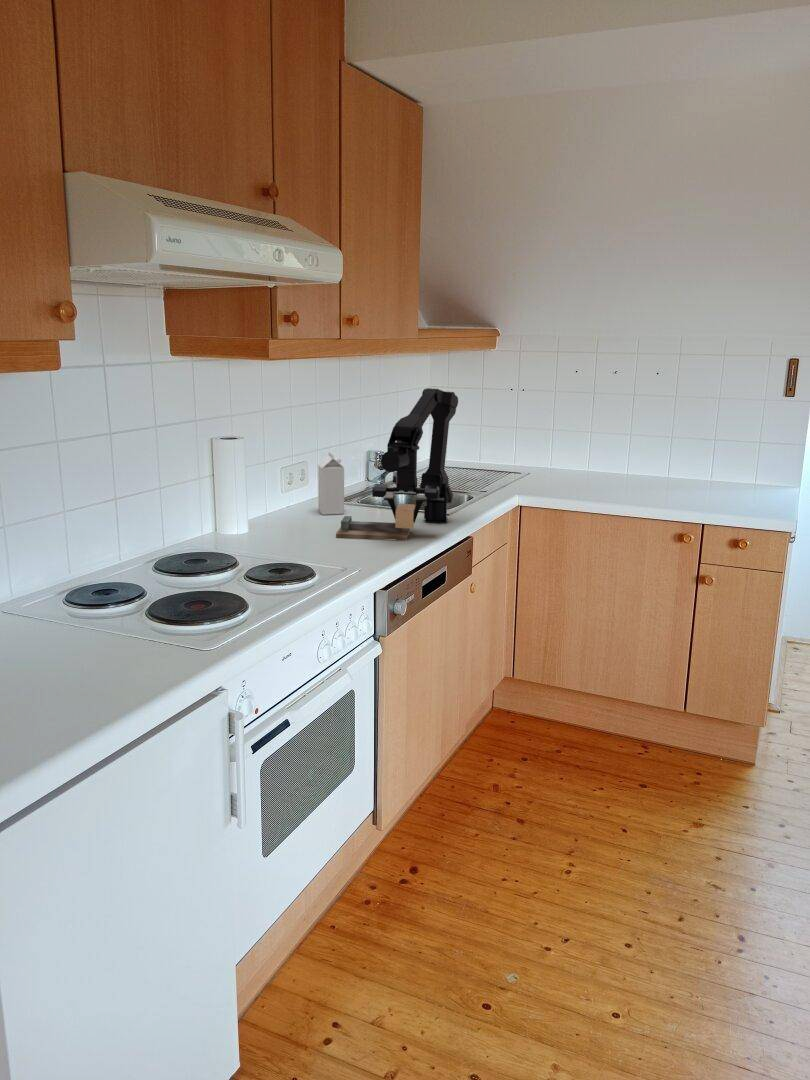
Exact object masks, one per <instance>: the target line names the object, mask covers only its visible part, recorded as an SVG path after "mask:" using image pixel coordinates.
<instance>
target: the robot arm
mask: <svg viewBox="0 0 810 1080" xmlns="http://www.w3.org/2000/svg"><path fill="white" fill-rule="evenodd" d="M421 392H422V393H421V396H420V397H419V398H418V401H417V402H416V403H415V405H414V406H413V408H412V409H411V411H410V412H409V413H408V415H406V416H404V417H402V418H399V420H398V421H396V423H395V424H394V426H393V427H392V430H391V433H390V437H389V438H388V439H389V440H388V442H387V444H386V445H387V451H385V452H384V453H383V454H382V456H381V459H380V465H381V467H382V469H383V470H384V471H385V472H387V473H392V483H393V484H395V487H389V484H388V483H387V484H386V483H376V484H374V486H373V488H372V491H371V492H372V497H373V498H383V501H387V503H388V505H389V507H390V508H391V512H392V514H393V517H394V519H395V518H396V509H397V506H398V505H397V495H404V496H405V495H408V496H417V497H416V500H415V505H416V506H415V512H414V522H416V520H417V518H418V515H419V512H420V508H421V507H422V505H423V503H425V504H424V506H423V508H424V509H423V512H424V513H423V516H424V517H423V519H424V520H425V521H424V522H425V523H441V522H445V523H447V522H448V515H447V514H448V504H451V503H452V502H453V499H454V493H453V490H452V489H451V486H450V484H449V481H450V480H449V476H448V473H447V472H446V469H445V465H446V457H447V456H446V455H447V447H448V439H449V427H450V422H451V420H452V419H453V417H454V416H455V415H456V412H457V407H458V405H459V398H458V395H456V393H455V392H454V391H444V390H442V389H439V388H432V387H431V388H429V387H428V388H424V389H423V390H422V391H421ZM429 416H431V417H432V419H433V420H432V421H433V422H432V430H431V439H430V440H431V442H430V450H429V459H428V460H429V461H428V468H427V470H425V472H423V473H422V474H421V481H420V484H419V488H418V478H417V477H418V476H417V470H418V469H417V467H418V466H417V464H418V461H417V460H418V459H417V458H418V451H419V450H420V446H419V443H420V442H421V441H420V440H421V439H422V437H423V434H424V430H423V426H424V424H425V422H426V421H427V419H428V418H429ZM445 523H444V524H445Z"/></svg>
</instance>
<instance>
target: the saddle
mask: <svg viewBox="0 0 810 1080" xmlns="http://www.w3.org/2000/svg"><path fill="white" fill-rule="evenodd" d="M396 506H397V509H396V518H394V523H395V528H410V530H411V529H414V526H415V525H414V524H415V522H416V521H415V522H414V512H415V506H416V504H413V503H412V504H410V503H408V504H407V503H397V505H396Z"/></svg>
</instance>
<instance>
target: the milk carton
mask: <svg viewBox="0 0 810 1080" xmlns="http://www.w3.org/2000/svg"><path fill="white" fill-rule="evenodd" d="M341 463H342V459H340V458H339V457H338V456H336V457H334V454H333V453H332V452H330V451H328V455H327V456H326V457H325V458H324V459H322V460H321V461H320V462H319V463H318V465H317V471H318V473H317V474H318V476H317V479H318V480H317V483H318V484H317V487H318V489H317V492H318V497H317V498H318V499H317V500H318V502H317V503H318V511H319V513H320V514H321V515H323V516H324V515H342V514H344V515H345V467H344V466H343V465H342V464H341Z"/></svg>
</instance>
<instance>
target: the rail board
mask: <svg viewBox="0 0 810 1080" xmlns="http://www.w3.org/2000/svg"><path fill="white" fill-rule="evenodd" d="M352 518H353V517H352V515H345V516H344V517H343V518H342V519H341V520H340V527H339V529H338V530H337V532H336V533H335V538H336V539H359V540H378V539H396V540H395V541H403V540H408V538H409V535H410V531H411V529H410V528H395V522H383V521H379V522H378V521H355V520H354V521H353V520H352ZM408 534H409V535H408ZM407 537H408V538H407Z"/></svg>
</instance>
